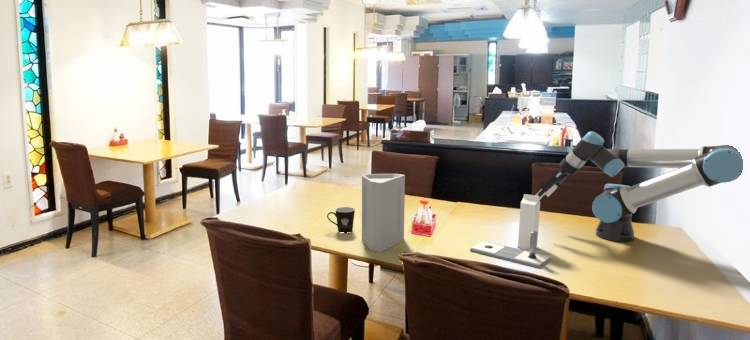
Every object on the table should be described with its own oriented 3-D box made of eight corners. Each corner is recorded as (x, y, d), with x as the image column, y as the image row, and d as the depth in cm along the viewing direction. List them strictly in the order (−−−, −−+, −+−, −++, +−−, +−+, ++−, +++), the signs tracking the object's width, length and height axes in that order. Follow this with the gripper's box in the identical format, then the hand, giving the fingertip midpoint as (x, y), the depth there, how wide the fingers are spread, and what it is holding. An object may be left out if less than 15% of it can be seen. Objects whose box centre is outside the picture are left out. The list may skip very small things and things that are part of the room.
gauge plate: (550, 258, 190) (551, 255, 190) (539, 268, 181) (539, 264, 180) (483, 243, 207) (484, 240, 207) (470, 251, 198) (470, 247, 198)
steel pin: (536, 257, 188) (538, 231, 186) (534, 258, 186) (535, 233, 184) (530, 255, 190) (532, 230, 188) (527, 257, 188) (529, 232, 186)
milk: (523, 244, 207) (526, 192, 203) (537, 247, 203) (541, 194, 199) (517, 247, 202) (520, 195, 198) (532, 251, 198) (535, 197, 194)
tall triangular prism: (375, 233, 220) (375, 171, 214) (404, 239, 212) (405, 174, 206) (350, 245, 204) (349, 178, 199) (380, 252, 196) (381, 183, 191)
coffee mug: (358, 229, 224) (358, 208, 222) (349, 235, 217) (349, 213, 215) (335, 226, 229) (335, 205, 227) (326, 231, 221) (325, 209, 219)
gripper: (574, 153, 222) (544, 187, 233) (555, 160, 202) (523, 196, 213) (588, 164, 219) (556, 198, 230) (569, 173, 200) (536, 209, 210)
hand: (540, 197), depth 222 cm, fingers open, 13 cm apart
